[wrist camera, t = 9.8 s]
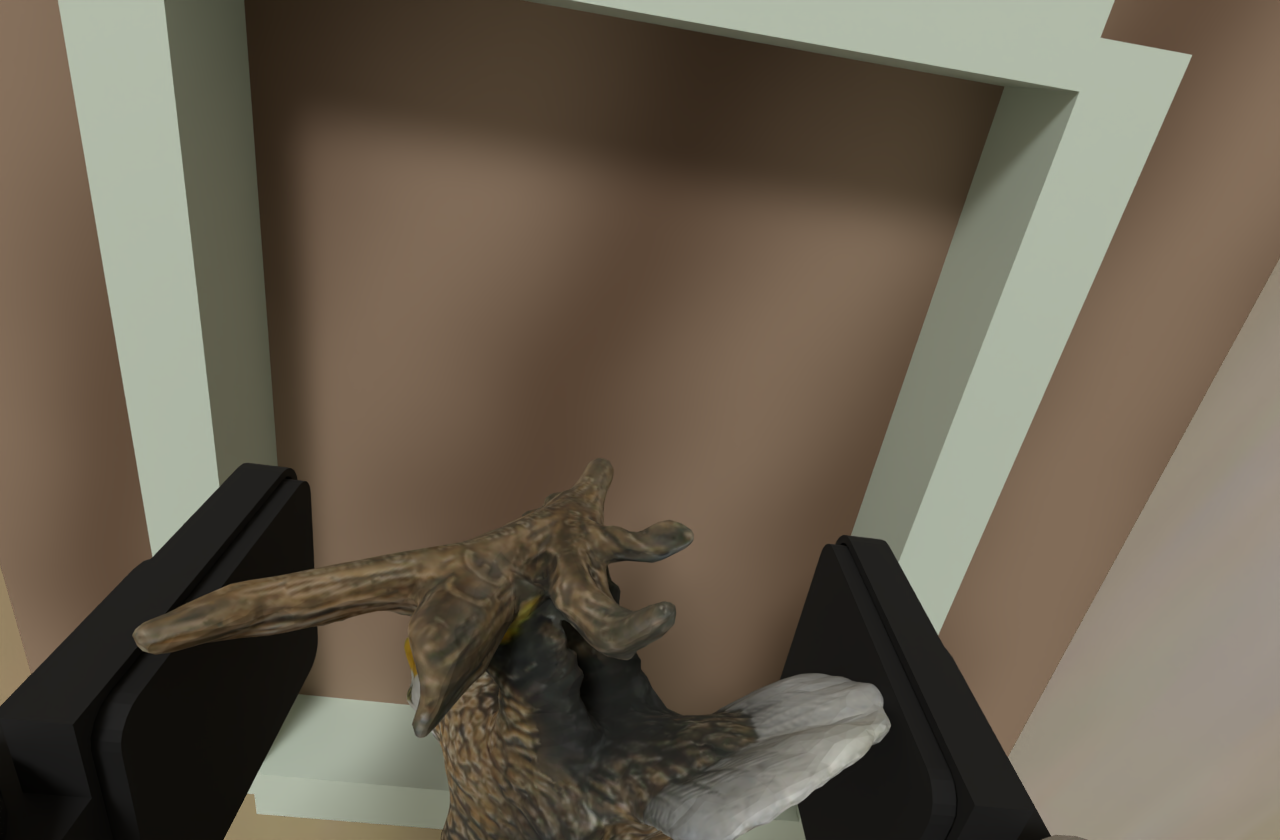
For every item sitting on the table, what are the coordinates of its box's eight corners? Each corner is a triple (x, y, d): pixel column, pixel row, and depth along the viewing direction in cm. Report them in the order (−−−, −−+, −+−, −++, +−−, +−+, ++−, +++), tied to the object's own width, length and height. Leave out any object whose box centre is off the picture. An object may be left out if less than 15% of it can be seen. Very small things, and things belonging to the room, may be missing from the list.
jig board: (1396, -72, 11) (1650, -116, 8) (945, 806, 20) (996, 925, 17) (-200, -404, 9) (-547, -598, 6) (85, 728, 18) (-12, 847, 15)
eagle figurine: (120, 460, 9) (192, 1022, 11) (149, 954, 3) (283, 1872, 5) (642, 404, 13) (613, 816, 15) (1043, 569, 7) (902, 1174, 10)
